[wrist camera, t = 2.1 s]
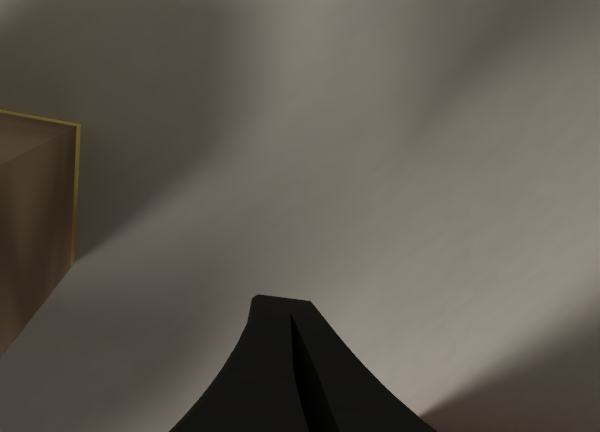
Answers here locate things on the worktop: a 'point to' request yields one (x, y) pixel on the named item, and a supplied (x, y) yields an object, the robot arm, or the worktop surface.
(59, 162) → the brown wooden block
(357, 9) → the worktop surface
